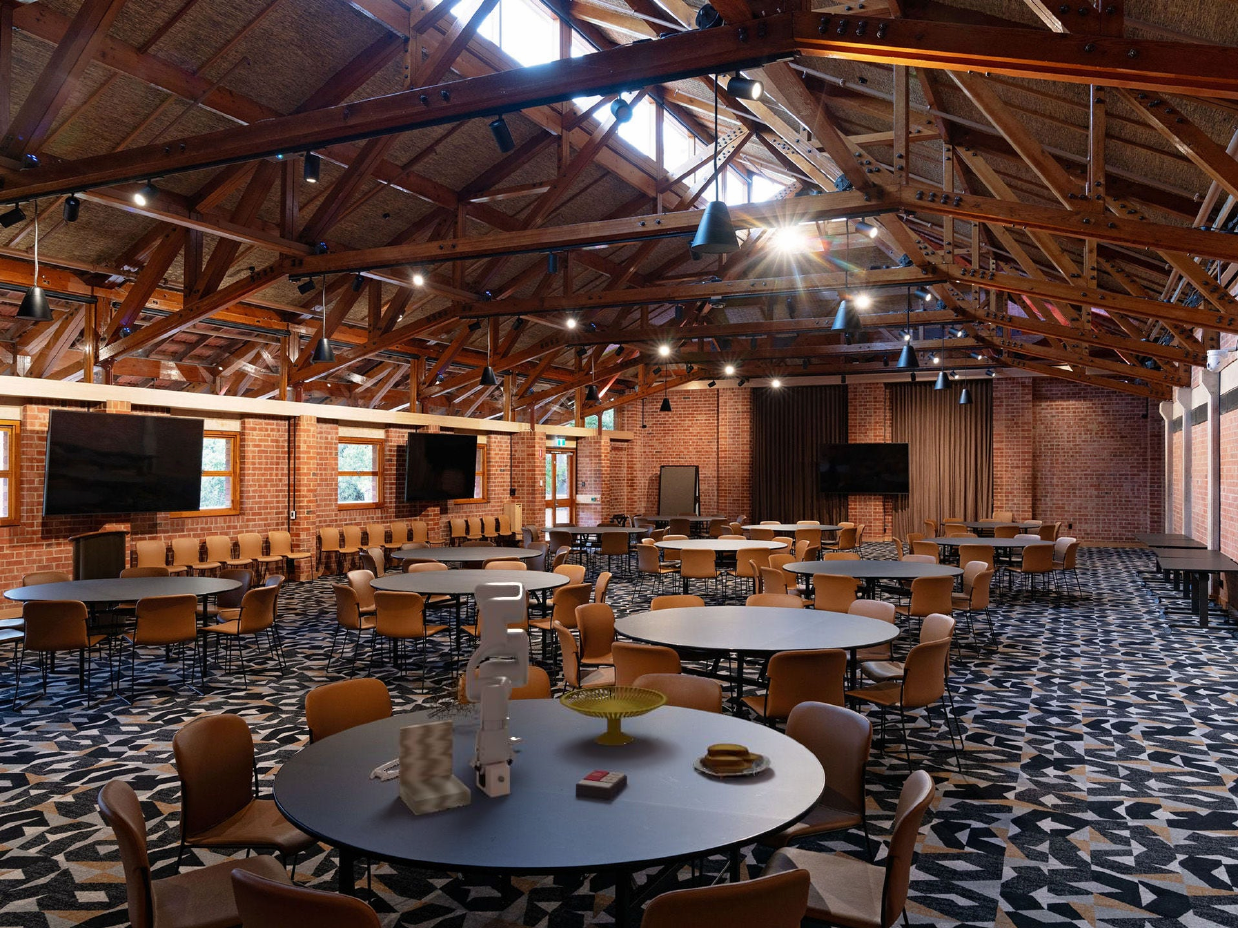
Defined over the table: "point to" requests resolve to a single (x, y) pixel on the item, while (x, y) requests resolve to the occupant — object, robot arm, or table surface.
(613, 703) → the yellow pedestal fruit bowl
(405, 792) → the beige zigzag bookend
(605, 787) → the small patterned box
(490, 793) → the pale taupe block
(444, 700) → the dried plant
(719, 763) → the food on plate
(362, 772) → the table surface
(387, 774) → the door handle
